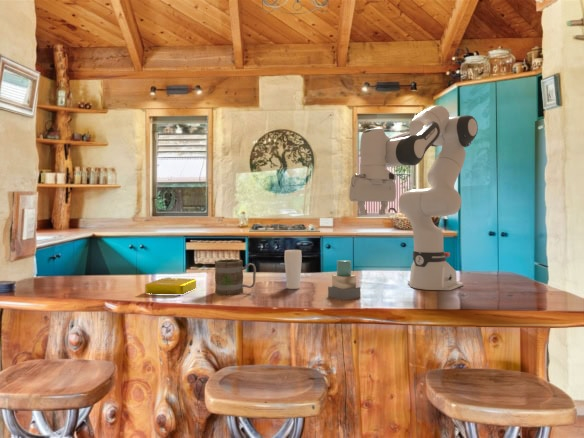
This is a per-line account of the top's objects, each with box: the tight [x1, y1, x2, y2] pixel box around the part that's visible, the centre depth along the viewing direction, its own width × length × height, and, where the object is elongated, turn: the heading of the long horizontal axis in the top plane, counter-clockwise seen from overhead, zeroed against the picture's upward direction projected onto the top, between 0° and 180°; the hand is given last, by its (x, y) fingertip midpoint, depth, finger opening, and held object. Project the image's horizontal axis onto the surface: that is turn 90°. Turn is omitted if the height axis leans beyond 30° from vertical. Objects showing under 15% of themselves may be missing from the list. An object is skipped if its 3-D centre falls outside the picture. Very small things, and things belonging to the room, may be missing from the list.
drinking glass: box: [284, 249, 303, 290], centre depth 161 cm, size 7×7×15 cm
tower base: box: [327, 285, 361, 301], centre depth 145 cm, size 8×8×4 cm
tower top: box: [331, 274, 357, 289], centre depth 145 cm, size 6×6×4 cm
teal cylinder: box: [336, 259, 352, 276], centre depth 145 cm, size 5×5×5 cm
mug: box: [214, 258, 257, 297], centre depth 154 cm, size 16×11×12 cm
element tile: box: [144, 277, 197, 294], centre depth 157 cm, size 15×15×5 cm
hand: (373, 214), depth 141 cm, fingers open, 8 cm apart
